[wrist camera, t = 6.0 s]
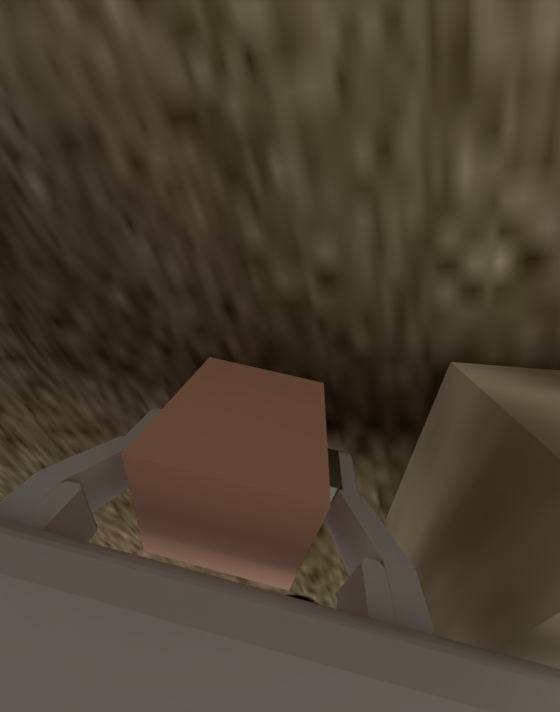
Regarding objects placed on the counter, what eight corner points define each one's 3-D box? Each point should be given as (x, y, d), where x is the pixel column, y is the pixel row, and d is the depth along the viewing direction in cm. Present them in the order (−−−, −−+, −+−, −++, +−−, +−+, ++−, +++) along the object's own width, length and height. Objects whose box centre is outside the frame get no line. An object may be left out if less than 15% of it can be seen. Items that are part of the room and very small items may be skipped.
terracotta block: (207, 437, 12) (144, 551, 8) (209, 357, 10) (121, 453, 5) (298, 459, 12) (288, 590, 7) (323, 382, 9) (331, 505, 5)
